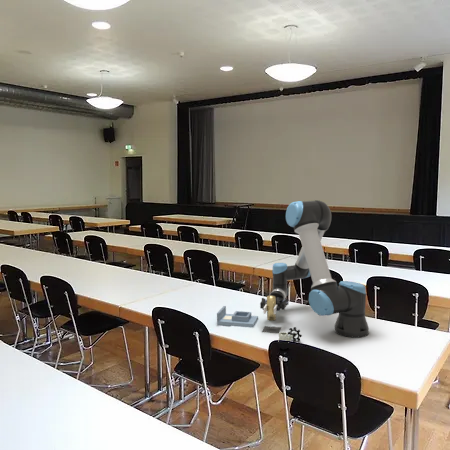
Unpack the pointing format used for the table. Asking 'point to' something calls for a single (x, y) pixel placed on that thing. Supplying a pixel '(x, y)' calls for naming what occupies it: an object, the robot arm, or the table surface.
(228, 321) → the grey socket fixture
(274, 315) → the brass peg
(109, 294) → the table surface
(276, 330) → the pad
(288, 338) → the valve
